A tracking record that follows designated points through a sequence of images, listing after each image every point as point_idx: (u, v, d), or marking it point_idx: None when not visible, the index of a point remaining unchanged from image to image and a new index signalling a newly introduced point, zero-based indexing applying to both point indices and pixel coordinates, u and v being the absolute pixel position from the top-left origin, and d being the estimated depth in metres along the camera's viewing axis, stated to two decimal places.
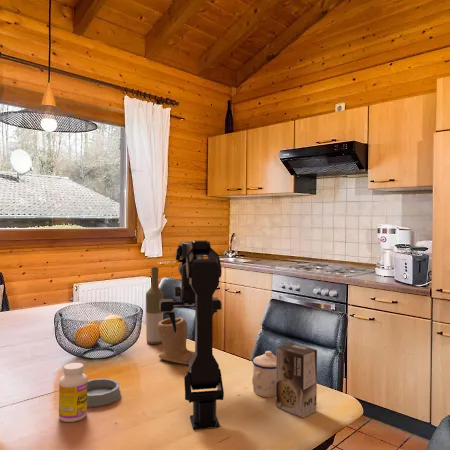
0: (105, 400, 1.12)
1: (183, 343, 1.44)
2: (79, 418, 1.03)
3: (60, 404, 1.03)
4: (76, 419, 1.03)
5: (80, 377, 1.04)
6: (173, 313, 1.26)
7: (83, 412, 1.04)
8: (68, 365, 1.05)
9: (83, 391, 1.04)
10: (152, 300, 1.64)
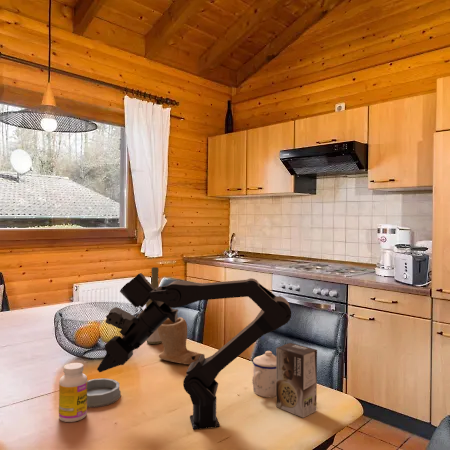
0: (105, 400, 1.12)
1: (183, 343, 1.44)
2: (79, 418, 1.03)
3: (60, 404, 1.03)
4: (76, 419, 1.03)
5: (80, 377, 1.04)
6: None
7: (83, 412, 1.04)
8: (68, 365, 1.05)
9: (83, 391, 1.04)
10: None
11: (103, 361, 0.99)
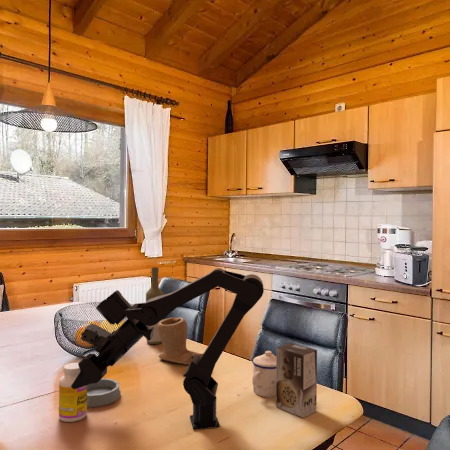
0: (105, 400, 1.12)
1: (183, 343, 1.44)
2: (79, 418, 1.03)
3: (60, 404, 1.03)
4: (76, 419, 1.03)
5: None
6: None
7: (83, 412, 1.04)
8: (68, 365, 1.05)
9: (83, 391, 1.04)
10: None
11: (77, 378, 0.99)
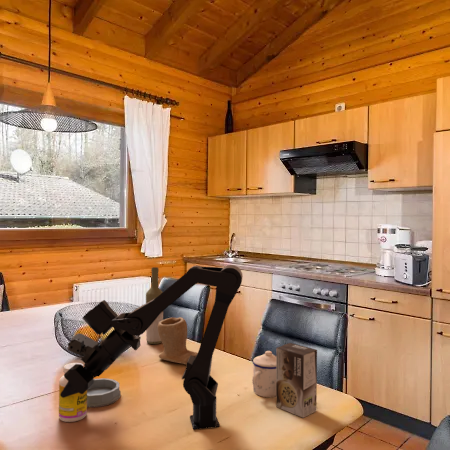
0: (105, 400, 1.12)
1: (183, 343, 1.44)
2: (79, 418, 1.03)
3: (60, 404, 1.03)
4: (76, 419, 1.03)
5: None
6: None
7: (83, 412, 1.04)
8: (68, 365, 1.05)
9: None
10: None
11: (66, 387, 1.01)
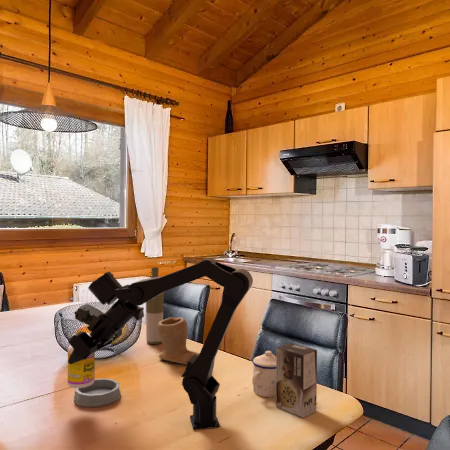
0: (105, 400, 1.12)
1: (183, 343, 1.44)
2: (86, 385, 1.07)
3: (68, 371, 1.07)
4: (83, 385, 1.06)
5: None
6: None
7: (90, 380, 1.08)
8: None
9: (89, 359, 1.07)
10: (152, 300, 1.64)
11: (72, 354, 1.05)
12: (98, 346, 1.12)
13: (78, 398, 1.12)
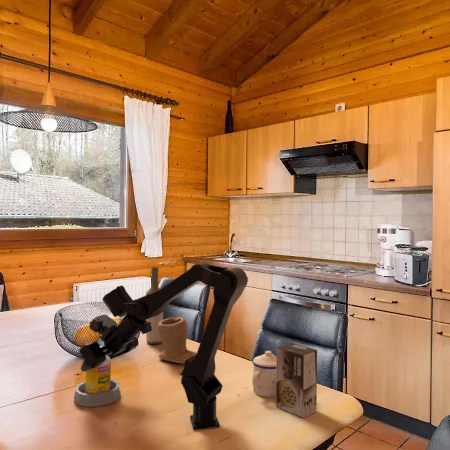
0: (105, 400, 1.12)
1: (183, 343, 1.44)
2: None
3: None
4: None
5: None
6: (99, 365, 1.10)
7: None
8: None
9: (103, 373, 1.14)
10: None
11: (84, 362, 1.11)
12: (117, 354, 1.20)
13: (78, 398, 1.12)
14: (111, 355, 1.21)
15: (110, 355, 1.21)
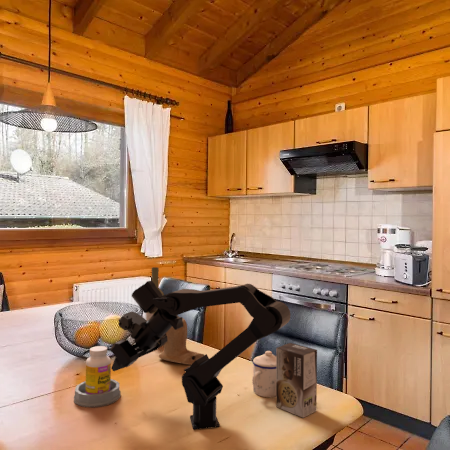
0: (105, 400, 1.12)
1: (183, 343, 1.44)
2: None
3: None
4: None
5: (102, 359, 1.15)
6: (132, 363, 1.06)
7: None
8: (94, 347, 1.17)
9: (103, 373, 1.14)
10: None
11: (114, 361, 1.08)
12: (146, 351, 1.16)
13: (78, 398, 1.12)
14: (140, 352, 1.17)
15: (139, 353, 1.17)
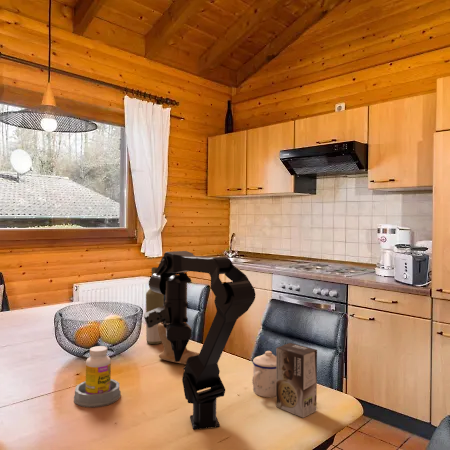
0: (105, 400, 1.12)
1: None
2: None
3: None
4: None
5: (102, 359, 1.15)
6: None
7: None
8: (94, 347, 1.17)
9: (103, 373, 1.14)
10: (152, 300, 1.64)
11: (175, 351, 1.08)
12: None
13: (78, 398, 1.12)
14: None
15: None
